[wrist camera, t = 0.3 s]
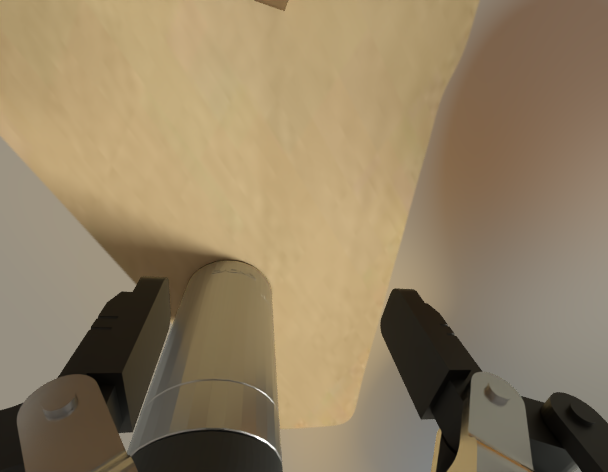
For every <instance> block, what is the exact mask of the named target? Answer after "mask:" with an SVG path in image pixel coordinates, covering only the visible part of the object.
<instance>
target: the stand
mask: <svg viewBox="0 0 608 472" xmlns="http://www.w3.org/2000/svg"><path fill="white" fill-rule="evenodd" d="M255 1H258V2H260V3H263V4H266V5H269V6H272V7H275V8H277V9H280V10H283V11H285V8H286V5H287V2H288V0H255Z"/></svg>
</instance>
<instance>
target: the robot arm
mask: <svg viewBox="0 0 608 472" xmlns="http://www.w3.org/2000/svg"><path fill="white" fill-rule="evenodd" d="M170 317H171V311H170V294H169V281H168V278H163V277H141V278H140V280H139V282H138V283H137V285H136V287H135V289H134V290H133V292H121V293H119V294H118V295H117V296H115V297H114V298H113V299H111V300H110V301H109V302H107V304H106V305H105V306H104V308H103V310H102V311H101V313H100V314H99V316H98V319H96V320H95V322H94V323H93V325H92V326H91V330H89V331H88V332H87V334H86V336H85V337H84V338H83V340H82V342H81V343H80V345H79V346H78V348H77V349H76V351H75V352H74V354H73V355H72V357H71V358H70V360H69V361H68V363H67V364H66V366H65V367H64V369H63V370H62V372H61V374H60V375H59V376H58V378H57V379H54V380H52V381H50V382H48V383H46V384H44V385H43V386H41V387H40V388H39V389H37V390H36V391H35V392H33V393H32V394H31V395H30V396H29V397H28V398H27V399H26V400H25V402H24V403H22V404H19V405H16V406H14V407H11V408H7V409H4V410H0V472H283V471H282V456H281V439H280V422H279V409H278V393H277V376H276V359H275V342H274V326H273V307H272V291H271V287H270V284H269V282H268V280H267V278H266V277H265V276H264V275H263V274H262V273H261V272H260V271H259V270H257V269H256V268H255V267H253V266H251V265H248V264H246V263H242V262H238V261H228V260H226V261H218V262H214V263H211V264H208V265H206V266H204V267H202V268H200V269H199V270H198V271H197V272H196V273H194V274H193V276H192V277H191V279H190V280H189V282H188V284H187V287H186V290H185V292H184V295H183V298H182V300H181V303H180V306H179V308H178V311H177V314H176V316H175V319H174V322H173V325H172V328H171V331H170V333H169V336H168V339H167V341H166V344H165V347H164V350H163V353H162V355H161V358H160V361H159V364H158V366H157V370H156V372H155V375H154V378H153V380H152V383H151V386H150V389H149V392H148V395H147V397H146V400H145V403H144V406H143V408H142V411H141V414H140V417H139V420H138V423H137V426H136V428H135V432H134V434H133V437H132V440H131V442H130V445H129V448H128V451H127V452H126V451H125V448H124V446H123V443H122V441H121V439H120V436H119V433H125V432H133V430H134V427H135V424H136V421H137V418H138V416H139V412H140V409H141V407H142V404H143V401H144V398H145V395H146V393H147V390H148V387H149V384H150V381H151V378H152V375H153V373H154V370H155V367H156V364H157V361H158V358H159V356H160V353H161V350H162V347H163V344H164V341H165V339H166V336H167V333H168V330H169V325H170ZM380 326H381V333H382V336H383V338H384V340H385V342H386V344H387V347H388V349H389V351H390V353H391V355H392V358H393V360H394V362H395V364H396V366H397V368H398V371H399V373H400V375H401V377H402V379H403V382H404V384H405V386H406V388H407V390H408V392H409V395H410V397H411V399H412V401H413V403H414V405H415V408H416V410H417V412H418V414H419V416H420V418H421V419H435V420H436V422H437V424H438V426H439V430H438V432H437V436H436V442H435V449H434V455H433V461H432V468H431V472H574V471H575V470H577V469H578V468H580V470H581V471H582V472H608V423H607V422H606V421H605V420H604V419H603V418H602V417H601V416H600V415H599V414H598V413H597V412H596V411H595V410H594V409H592V408H591V407H590V406H589V405H587V404H586V403H584V402H583V401H581V400H579V399H578V398H576V397H574V396H571V395H569V394H566V393H560V392H557V393H553V394H552V395H551V396H550V397H549V398H548V400H547V401H546V402H545V403H543V402H540V401H536V400H533V399H529V398H526V397H523V396H520V394H519V393H518V392H517V391H516V390H515V389H514V387H512V386H511V385H510V384H509V383H508V382H506V381H505V380H503V379H502V378H500V377H498V376H496V375H494V374H491V373H488V372H482V370H481V369H480V368H479V367H478V365H477V364H476V362H475V361H474V360H473V358H472V357H471V355H470V354H469V353H468V351H467V350H466V349H465V347H464V346H463V345H462V343H461V342H460V341H459V339H458V338H457V336H454V332H453V331H452V330H451V328H450V327H448V326H447V323H446V322H445V320H444V319H443V317H442V316H441V315H440V313H438V312H437V311H436V310H435V309H434V308H432V307H431V306H430V305H429V304H426V303H424V301H423V300H422V299H421V297H420V296H419V294H418V293H417V291H415V290H413V289H393V290H392V292H391V294H390V296H389V299H388V302H387V304H386V307H385V310H384V313H383V315H382V318H381V325H380Z"/></svg>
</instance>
